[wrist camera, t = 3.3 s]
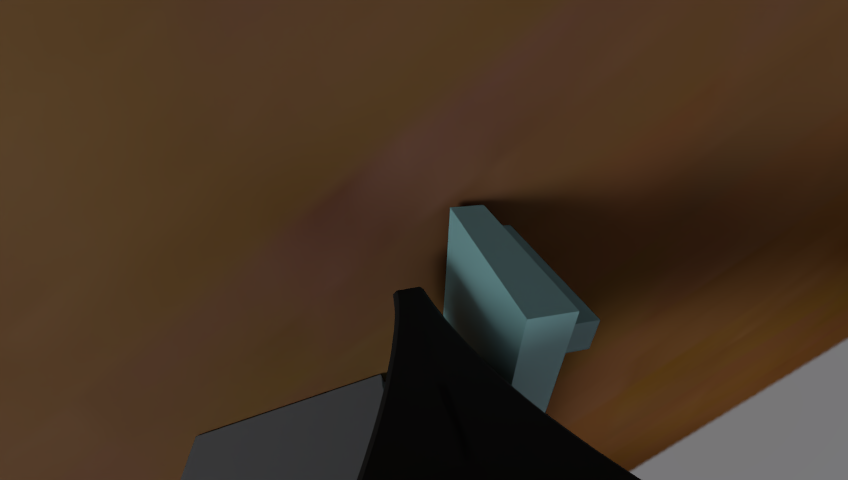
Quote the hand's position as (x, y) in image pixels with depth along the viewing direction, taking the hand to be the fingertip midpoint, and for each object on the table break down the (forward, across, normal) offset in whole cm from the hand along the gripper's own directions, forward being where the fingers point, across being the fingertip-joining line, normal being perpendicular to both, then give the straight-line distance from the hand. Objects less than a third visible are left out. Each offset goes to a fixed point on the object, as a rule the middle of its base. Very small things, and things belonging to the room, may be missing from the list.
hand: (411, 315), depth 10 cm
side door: (+1, -2, +5) cm, 6 cm away
